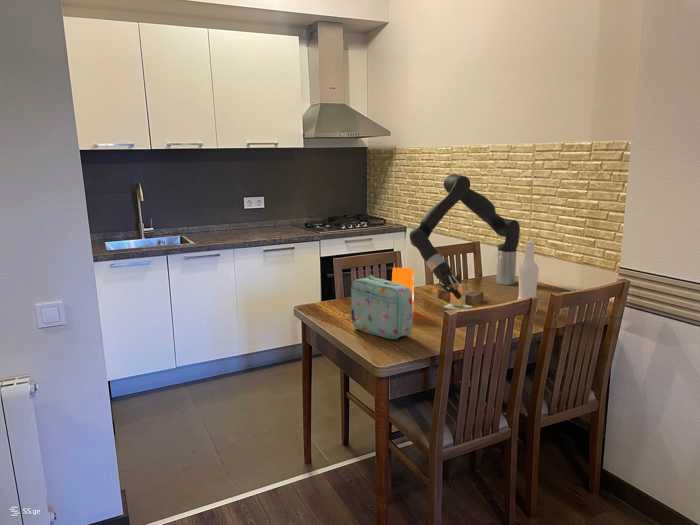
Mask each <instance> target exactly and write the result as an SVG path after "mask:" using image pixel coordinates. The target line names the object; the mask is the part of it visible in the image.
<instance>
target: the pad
mask: <svg viewBox="0 0 700 525" xmlns="http://www.w3.org/2000/svg"><path fill="white" fill-rule="evenodd" d="M473 306H474V305H469V304H465V305H464V306H462V307H460V306H455V305H451V304H450V303H448V304H445V305H443V306H442V308H443V309H449V310H453V311H456V310H459V309H467V308H471V309H473Z"/></svg>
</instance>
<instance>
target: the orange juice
mask: <svg viewBox="0 0 700 525" xmlns="http://www.w3.org/2000/svg"><path fill="white" fill-rule="evenodd" d="M414 279H415V278H414V268H413V267H392V273H391V281H392V282H396V283H399V284H402V285H405V286H407V287H408V288H410V290H411V292H412V300H413V312H414V310H415V309H414V306H415V305H414V304H415V303H414V297H415V293H414V292H415V288H414V284H415V282H414V281H415V280H414Z"/></svg>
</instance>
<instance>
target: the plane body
mask: <svg viewBox="0 0 700 525" xmlns="http://www.w3.org/2000/svg"><path fill="white" fill-rule="evenodd" d="M465 294H466V295H465V305H469V306H474V305H476V304H478V303H480V302H482V301H484V291H483V290H478V289H477V290H476V289H471V288H466V291H465ZM450 296H451V292H449V293H448V292H447V291H446V290H445V289H444V288H443V287H441V288H440V289H438V292H437V297H438V299H441V300H446V301H450ZM481 300H482V301H481ZM479 301H480V302H479ZM477 302H478V303H477ZM475 303H476V304H475ZM473 304H474V305H473Z"/></svg>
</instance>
